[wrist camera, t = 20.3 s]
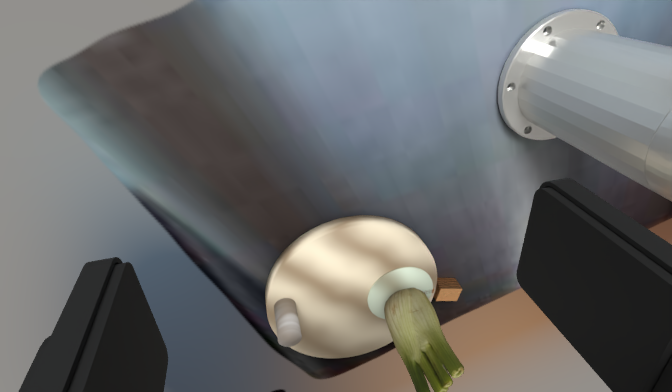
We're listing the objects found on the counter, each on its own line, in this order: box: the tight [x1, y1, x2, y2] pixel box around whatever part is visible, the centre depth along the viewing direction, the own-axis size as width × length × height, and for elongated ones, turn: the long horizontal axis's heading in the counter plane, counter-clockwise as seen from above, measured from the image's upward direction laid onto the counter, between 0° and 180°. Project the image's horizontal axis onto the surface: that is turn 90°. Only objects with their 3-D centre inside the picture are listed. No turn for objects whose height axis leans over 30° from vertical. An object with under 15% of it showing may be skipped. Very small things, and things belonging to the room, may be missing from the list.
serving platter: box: [265, 215, 437, 358], centre depth 46 cm, size 20×20×6 cm
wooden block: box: [433, 278, 462, 301], centre depth 49 cm, size 17×8×2 cm, turn 94°
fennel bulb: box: [384, 288, 464, 392], centre depth 43 cm, size 6×5×12 cm
